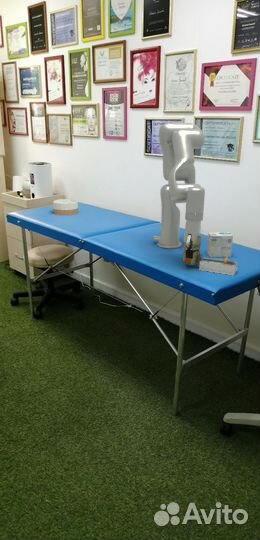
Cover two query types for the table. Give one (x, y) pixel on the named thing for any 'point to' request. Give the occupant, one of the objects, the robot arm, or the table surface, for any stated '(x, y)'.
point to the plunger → (210, 261)
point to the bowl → (65, 207)
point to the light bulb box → (219, 244)
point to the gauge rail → (218, 266)
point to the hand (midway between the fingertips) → (191, 255)
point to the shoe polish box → (195, 252)
